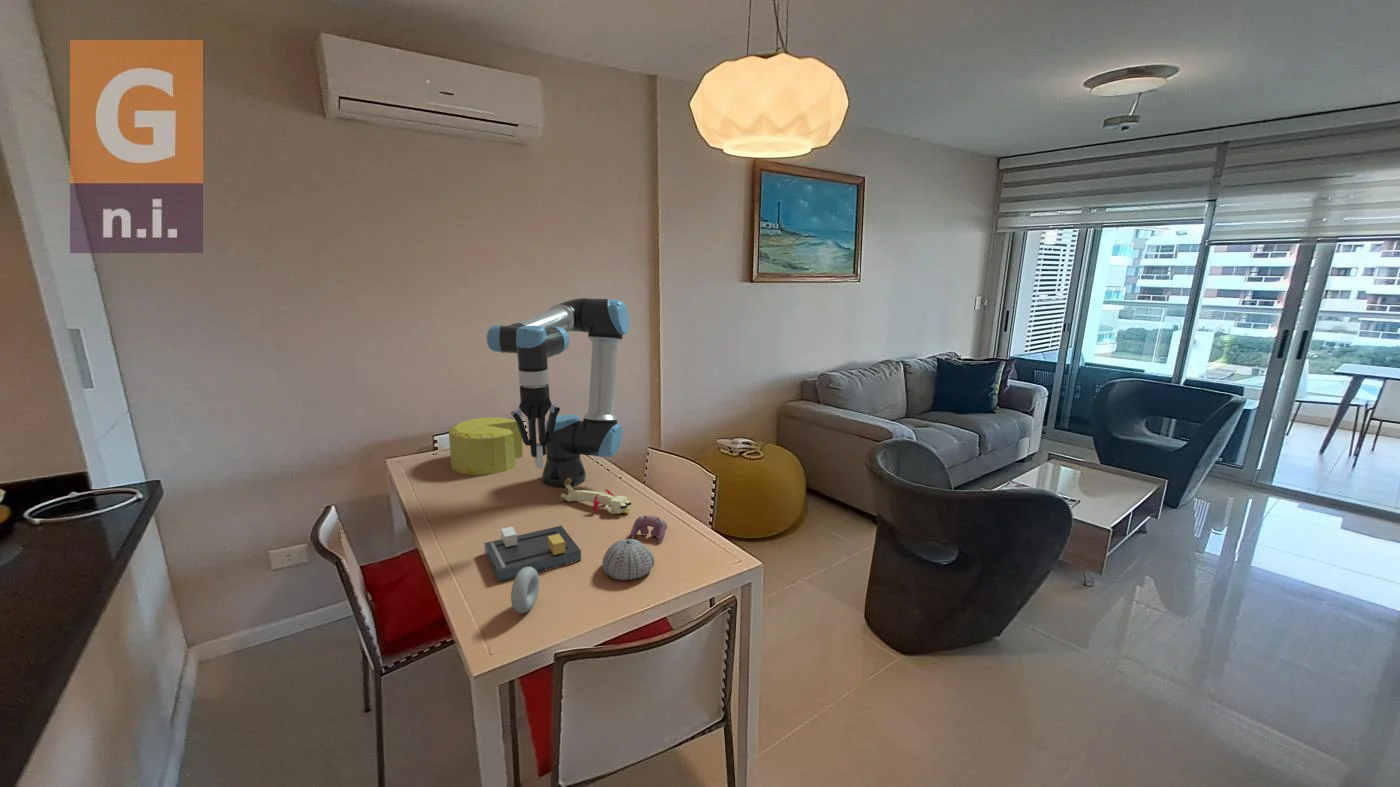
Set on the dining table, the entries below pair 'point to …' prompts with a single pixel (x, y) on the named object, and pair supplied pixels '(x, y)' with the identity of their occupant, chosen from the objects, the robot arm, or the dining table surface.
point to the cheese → (485, 445)
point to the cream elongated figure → (597, 499)
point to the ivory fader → (509, 536)
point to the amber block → (556, 544)
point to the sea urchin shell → (627, 560)
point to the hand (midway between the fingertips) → (539, 466)
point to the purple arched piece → (651, 521)
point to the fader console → (529, 553)
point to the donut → (525, 590)
